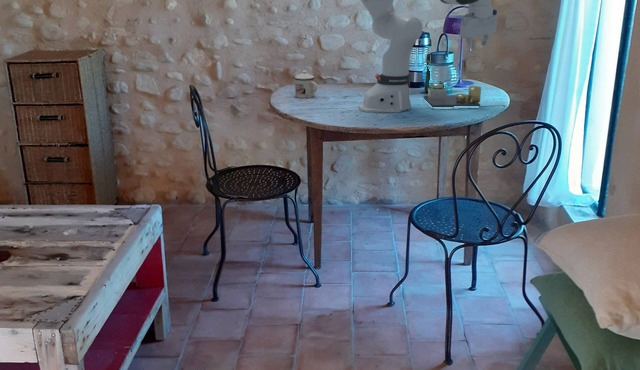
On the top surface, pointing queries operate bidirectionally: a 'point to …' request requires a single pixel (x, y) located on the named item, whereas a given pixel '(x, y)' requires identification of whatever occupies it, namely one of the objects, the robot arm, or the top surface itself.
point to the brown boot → (471, 95)
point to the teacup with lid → (305, 85)
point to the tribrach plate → (444, 98)
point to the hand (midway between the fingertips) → (477, 46)
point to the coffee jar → (427, 73)
